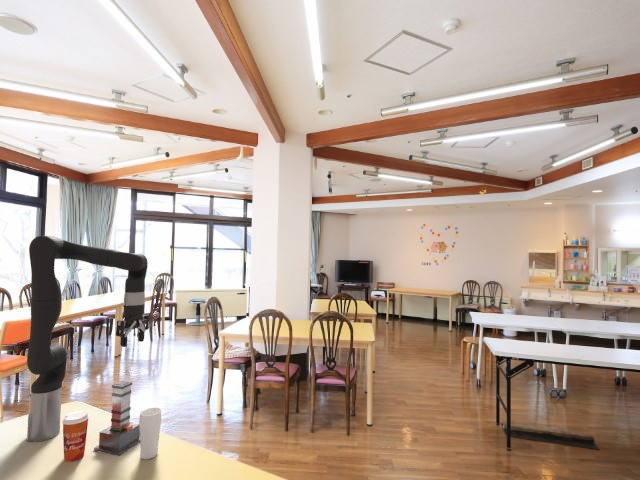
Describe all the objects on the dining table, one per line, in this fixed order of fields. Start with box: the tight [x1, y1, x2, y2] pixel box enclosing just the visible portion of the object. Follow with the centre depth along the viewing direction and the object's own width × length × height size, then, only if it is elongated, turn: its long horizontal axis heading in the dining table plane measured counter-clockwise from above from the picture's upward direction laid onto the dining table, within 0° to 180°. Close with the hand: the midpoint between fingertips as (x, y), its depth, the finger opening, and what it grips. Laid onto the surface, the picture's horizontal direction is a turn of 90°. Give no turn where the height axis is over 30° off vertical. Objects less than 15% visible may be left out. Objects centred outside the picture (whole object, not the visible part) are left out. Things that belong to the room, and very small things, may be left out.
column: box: [110, 380, 133, 433], centre depth 126 cm, size 5×5×16 cm
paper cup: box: [61, 410, 91, 463], centre depth 118 cm, size 8×8×14 cm
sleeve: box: [93, 421, 140, 457], centre depth 126 cm, size 11×11×7 cm
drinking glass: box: [138, 406, 162, 460], centre depth 120 cm, size 7×7×15 cm
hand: (132, 343), depth 139 cm, fingers open, 8 cm apart
